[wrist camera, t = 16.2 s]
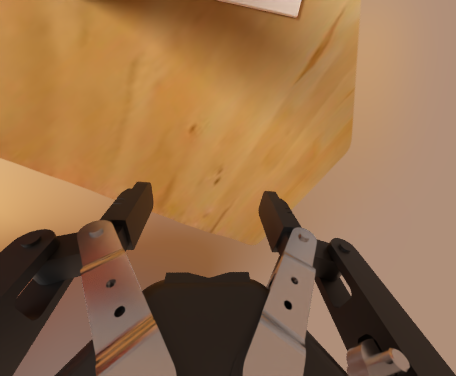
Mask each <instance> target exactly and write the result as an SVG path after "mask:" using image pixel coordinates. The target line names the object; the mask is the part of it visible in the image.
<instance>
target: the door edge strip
mask: <svg viewBox="0 0 456 376" xmlns="http://www.w3.org/2000/svg"><path fill="white" fill-rule="evenodd" d="M218 1H222V2H227V3H231V4H236V5H240V6H245V7H249V8H254V9H258V10H263V11H267V12H272V13H276V14H281V15H285V16H289V17H294V18H296V17H297V16H298V12H299V8H300V4H301V0H218Z"/></svg>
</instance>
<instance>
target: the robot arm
mask: <svg viewBox="0 0 456 376" xmlns="http://www.w3.org/2000/svg"><path fill="white" fill-rule="evenodd" d="M152 209H153V194H152V187H151V183H149V182H137V183H136V184H135V185H134V187H133V188H132V189H127V190H125V191H123V192H122V193H121V194H120V195H119V196H118V197H117V199H116V200H115V202H114V203H113V204H112V205H111V206H110V208H109V209H108V210H107V211H106V213H105V214H104V215H103V216H102V218H101V219H100V220H99V221H94V222H91V223H89V224H87V225H85V226H84V227H83V228H81V229H80V230H79V232H77V233H72V234H67V235H62V236H56V235H55V233H54V232H53V231H51V230H47V229H44V230H36V231H33V232H29V233H27V234H25V235H23V236H21V237H19V238H17V239H16V240H14V241H13V242H12V243H11V244H9V245H8V246H7V247H6V248H5V249H4V250H3V251H2V252H0V376H12V375H13V374H14V372H15V371H16V369H17V368H18V366H19V364H20V363H21V361H22V360H23V358H24V356H25V355H26V353H27V352H28V350H29V348H30V347H31V345H32V344H33V342H34V341H35V339H36V337H37V336H38V334H39V332H40V331H41V329H42V328H43V326H44V325H45V323H46V321H47V320H48V318H49V316H50V315H51V313H52V312H53V310H54V309H55V307H56V305H57V304H58V302H59V301H60V299H61V298H62V296H63V294H64V293H65V291H66V290H67V288H68V286H69V285H70V283H71V282H72V280H73V278H74V277H78V276H81V279H82V284H83V290H84V295H85V301H86V306H87V312H88V317H89V323H90V328H91V333H92V340H91V341H90V342H89V343H88V344H87V345H86V346H85V347H84V348H83V349H82V350H80V351H79V352H78V354H76V356H74V357H73V358H72V359H71V360H70V361H69V362H68V363H67V364H66V365H65V366H64V367H63V368H62V369H61V370H60V371H59V372H58V373H57V374H56V375H55V376H456V375H455V374H454V372H453V371H452V370H451V369H450V367H449V366H448V365H447V364H446V362H445V361H444V360H443V359H442V357H441V356H440V355H439V354H438V352H437V351H436V350H435V348H434V347H433V346H432V345H431V343H430V342H429V341H428V340H427V339H426V337H425V336H424V335H423V333H422V332H421V331H420V329H419V328H418V327H417V326H416V324H415V323H414V322H413V321H412V319H411V318H410V317H409V316H408V314H407V313H406V312H405V311H404V309H403V308H402V307H401V306H400V304H399V303H398V302H397V300H396V299H395V298H394V297H393V295H392V294H391V293H390V292H389V290H388V289H387V288H386V287H385V285H384V284H383V283H382V281H381V280H380V279H379V278H378V276H377V275H376V274H375V273H374V271H373V270H372V269H371V268H370V266H369V265H368V264H367V263H366V261H365V260H364V259H363V257H362V256H361V255H360V254H359V252H358V251H357V250H356V249H355V248H354V247H353V246H352V245H351V244H350V243H348V242H346V241H345V240H343V239H339V238H334V239H332V240H331V242H330V243H327V242H324V241H320V240H317V239H316V238H315V236H314V235H313V234H312V233H311V232H310V231H308V230H307V229H304V228H302V227H301V226H300V224H299V223H298V221H297V219H296V218H295V216H294V215H293V214H292V211H291V209H290V208H289V206H288V204H287V203H286V202H285V201H284V200H282V199H279V197H278V195H277V194H276V192H272V191H265V192H264V193H263V196H262V199H261V202H260V206H259V216H260V219H261V222H262V225H263V228H264V230H265V233H266V236H267V239H268V242H269V245H270V247H271V250H272V252H279V254H280V256H279V258H278V260H277V262H276V265H275V267H274V270H273V272H272V275H271V277H270V279H269V282H268V284H267V286H266V287H265V286H264V285H262V284H261V283H259V282H257V281H255V280H252V279H250V277H249V273H248V272H229V273H225V274H222V275H218V276H215V277H211V278H206V277H203V276H199V275H195V274H191V273H166V277H165V280H162V281H159V282H156V283H154V284H152V285H150V286H149V287H147V288H146V289H144V290H143V291H142V290H141V288H140V286H139V283H138V281H137V279H136V276H135V274H134V271H133V269H132V267H131V264H130V262H129V260H128V257H127V255H126V253H125V252H126V250H134V248H135V246H136V244H137V242H138V239H139V237H140V235H141V233H142V231H143V229H144V226H145V224H146V222H147V220H148V218H149V216H150V213H151V211H152ZM341 275H342V276H343V277H344V279H345V280H346V282H347V284H348V285H349V287H350V289H351V293H352V296H350V294H349V292H348V291H347V289H346V287H345V286H344V284H343V282H342V281H341V279H340V276H341ZM32 278H33V279H32ZM31 279H32V281H31V282H30V280H31ZM314 280H315V282H316V284H317V286H318V288H319V290H320V293H321V295H322V297H323V299H324V301H325V303H326V306H327V308H328V310H329V312H330V314H331V316H332V319H333V321H334V323H335V325H336V327H337V329H338V332H339V334H340V336H341V338H342V340H343V343H344V344H345V347H346V349H347V356H346V358H347V364H348V367H347V373H348V374H347V373H346V372H345V371H344V370H343V368H342V367H341V366H340V365H339V364H338V363H337V362H336V361H335V360H334V359H333V358H332V357H331V356H330V354H328V353H327V351H326V350H325V349H324V348H323V347H322V346H321V345H320V344H319V343H318V342H317V341H316V340H315V338H314V337H313V336H312V335H311V334H310V333H309V332H308V331H307V323H308V317H309V311H310V304H311V298H312V291H313V285H314ZM28 282H30V283H29V284H28ZM27 284H28V285H27ZM26 285H27V286H26ZM25 286H26V288H25ZM24 288H25V289H24ZM23 289H24V290H23ZM22 290H23V291H22ZM21 291H22V292H21ZM20 292H21V294H20ZM19 294H20V295H19ZM18 295H19V296H18ZM16 298H17V299H16Z"/></svg>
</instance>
